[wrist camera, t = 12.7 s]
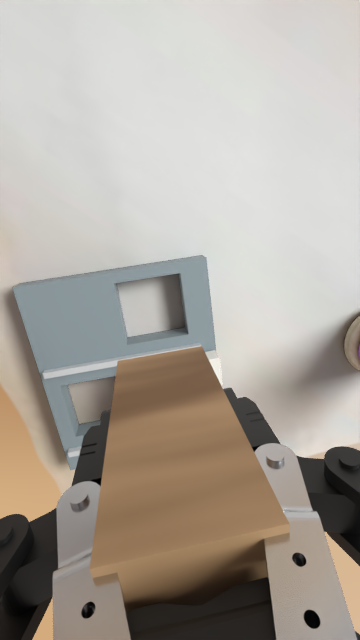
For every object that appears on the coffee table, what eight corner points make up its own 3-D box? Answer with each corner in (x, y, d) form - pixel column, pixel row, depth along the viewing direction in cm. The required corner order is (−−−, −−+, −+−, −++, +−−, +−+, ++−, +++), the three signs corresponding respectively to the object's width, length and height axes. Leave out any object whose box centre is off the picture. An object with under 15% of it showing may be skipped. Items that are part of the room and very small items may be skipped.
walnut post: (117, 360, 14) (89, 569, 6) (201, 346, 15) (289, 523, 6) (133, 431, 16) (128, 682, 7) (210, 416, 16) (291, 640, 8)
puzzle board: (20, 283, 28) (9, 289, 26) (201, 255, 30) (207, 258, 27) (74, 456, 35) (69, 474, 32) (220, 427, 36) (226, 442, 34)
